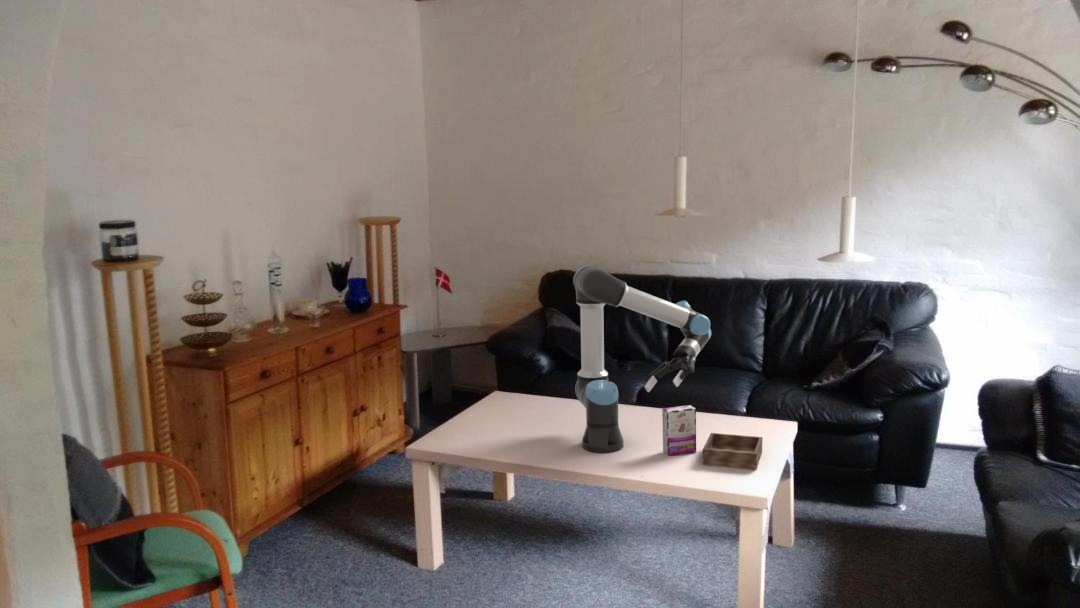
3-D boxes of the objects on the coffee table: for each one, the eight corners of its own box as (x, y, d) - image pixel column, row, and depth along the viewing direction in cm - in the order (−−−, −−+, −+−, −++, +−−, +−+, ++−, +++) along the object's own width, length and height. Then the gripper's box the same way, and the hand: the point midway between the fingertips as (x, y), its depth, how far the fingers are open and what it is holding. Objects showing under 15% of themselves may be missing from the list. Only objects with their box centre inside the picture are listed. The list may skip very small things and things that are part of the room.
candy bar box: (690, 448, 311) (690, 404, 308) (696, 452, 307) (696, 408, 304) (661, 451, 308) (661, 407, 306) (667, 456, 304) (667, 411, 301)
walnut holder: (702, 464, 295) (702, 449, 294) (710, 447, 311) (711, 432, 310) (756, 469, 289) (756, 454, 288) (762, 452, 305) (762, 437, 304)
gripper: (717, 355, 316) (692, 390, 302) (666, 366, 334) (640, 399, 320) (707, 338, 314) (682, 373, 300) (656, 350, 332) (630, 383, 318)
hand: (660, 386), depth 310 cm, fingers open, 13 cm apart
